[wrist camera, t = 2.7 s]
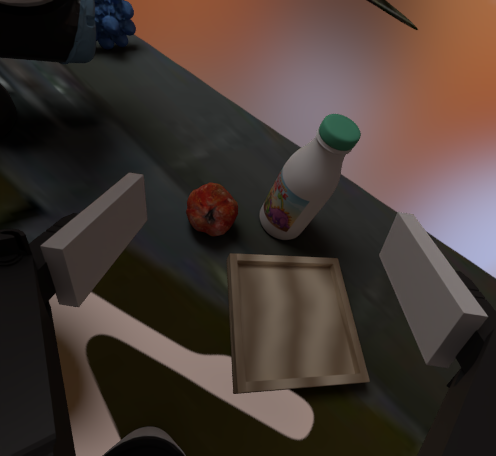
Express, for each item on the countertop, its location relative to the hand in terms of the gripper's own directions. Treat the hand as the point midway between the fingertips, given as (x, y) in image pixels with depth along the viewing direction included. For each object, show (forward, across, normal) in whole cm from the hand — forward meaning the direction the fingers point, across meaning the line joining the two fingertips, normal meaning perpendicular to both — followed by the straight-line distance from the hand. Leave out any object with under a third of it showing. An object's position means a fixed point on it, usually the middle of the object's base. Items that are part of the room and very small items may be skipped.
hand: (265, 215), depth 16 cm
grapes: (+53, -35, +2) cm, 64 cm away
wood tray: (+15, +6, -24) cm, 29 cm away
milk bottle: (+29, +3, -17) cm, 34 cm away
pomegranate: (+25, -8, -17) cm, 31 cm away
